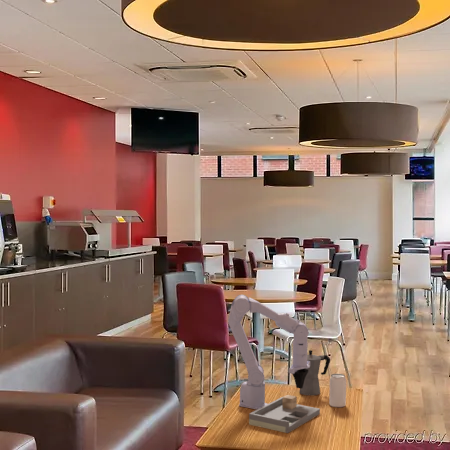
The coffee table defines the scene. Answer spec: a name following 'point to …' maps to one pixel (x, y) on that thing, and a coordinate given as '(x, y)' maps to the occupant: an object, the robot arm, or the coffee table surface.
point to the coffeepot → (313, 374)
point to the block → (289, 402)
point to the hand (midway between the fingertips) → (299, 387)
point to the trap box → (282, 416)
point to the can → (337, 390)
